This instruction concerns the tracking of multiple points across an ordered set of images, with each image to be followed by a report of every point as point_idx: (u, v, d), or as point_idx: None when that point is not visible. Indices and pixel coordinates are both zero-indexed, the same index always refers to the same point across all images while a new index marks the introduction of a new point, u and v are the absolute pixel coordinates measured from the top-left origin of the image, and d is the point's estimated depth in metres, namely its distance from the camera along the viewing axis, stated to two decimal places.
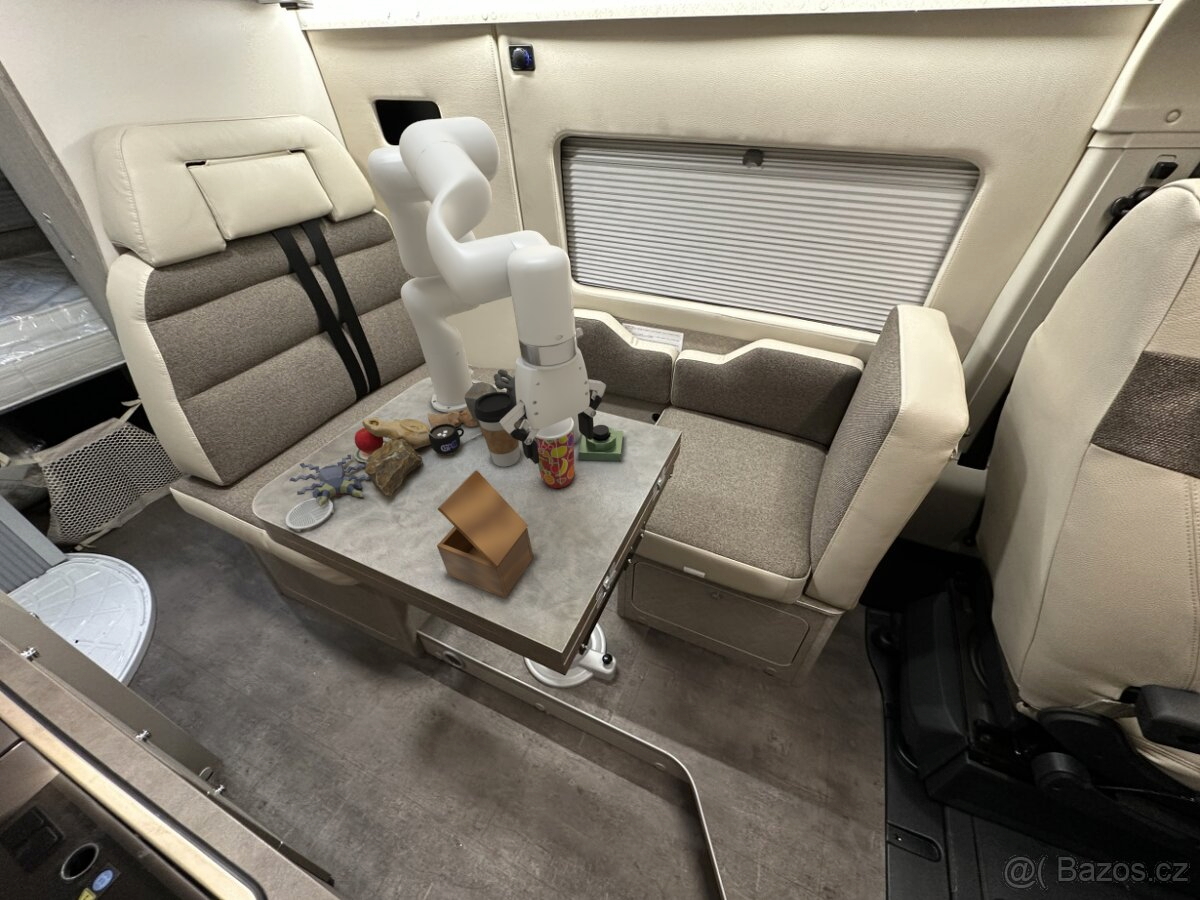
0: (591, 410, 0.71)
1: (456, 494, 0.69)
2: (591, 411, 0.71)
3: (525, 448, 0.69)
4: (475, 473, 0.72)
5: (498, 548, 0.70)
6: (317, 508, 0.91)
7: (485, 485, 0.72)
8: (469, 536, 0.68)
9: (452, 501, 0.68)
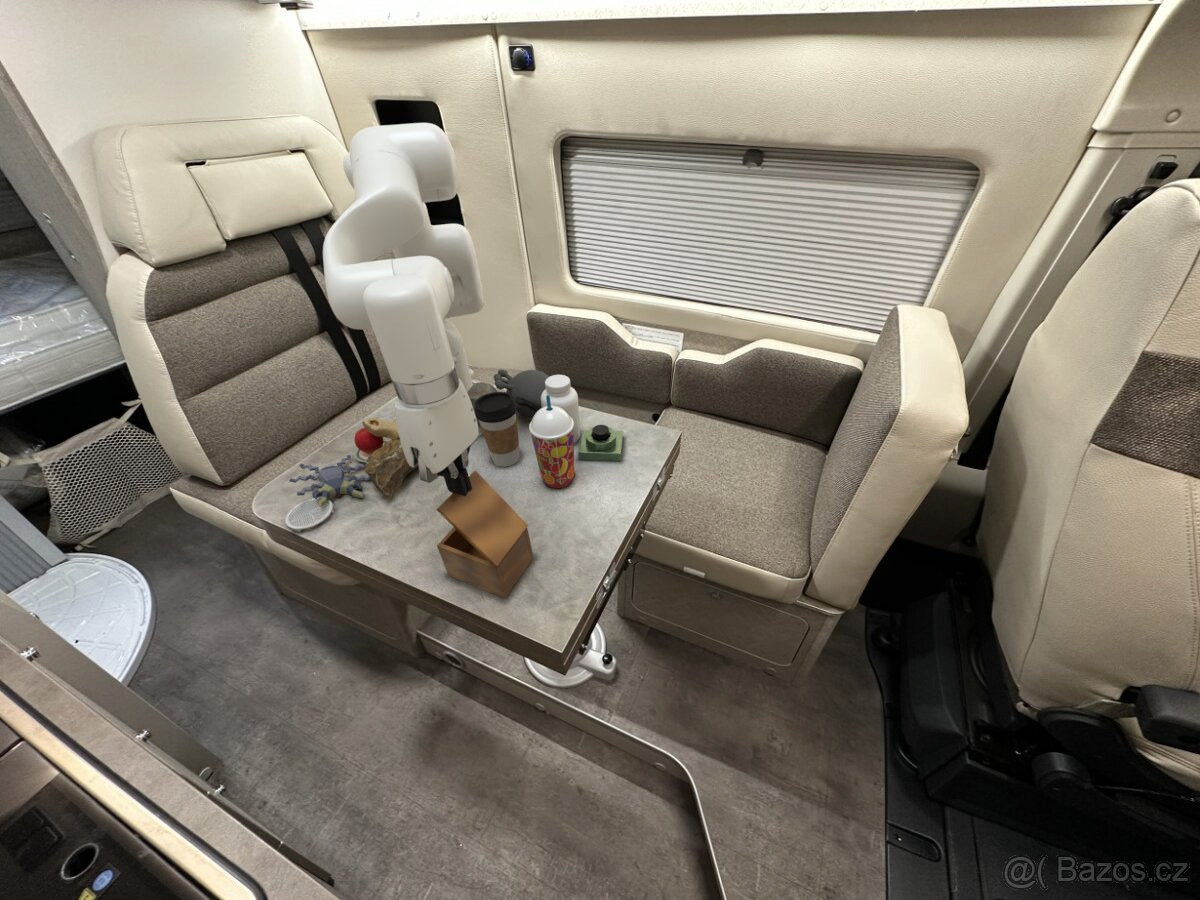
0: (466, 458, 0.67)
1: (455, 495, 0.69)
2: (464, 462, 0.66)
3: (451, 483, 0.66)
4: (474, 474, 0.72)
5: (498, 548, 0.71)
6: (317, 508, 0.91)
7: (484, 485, 0.73)
8: (468, 536, 0.68)
9: (451, 502, 0.68)
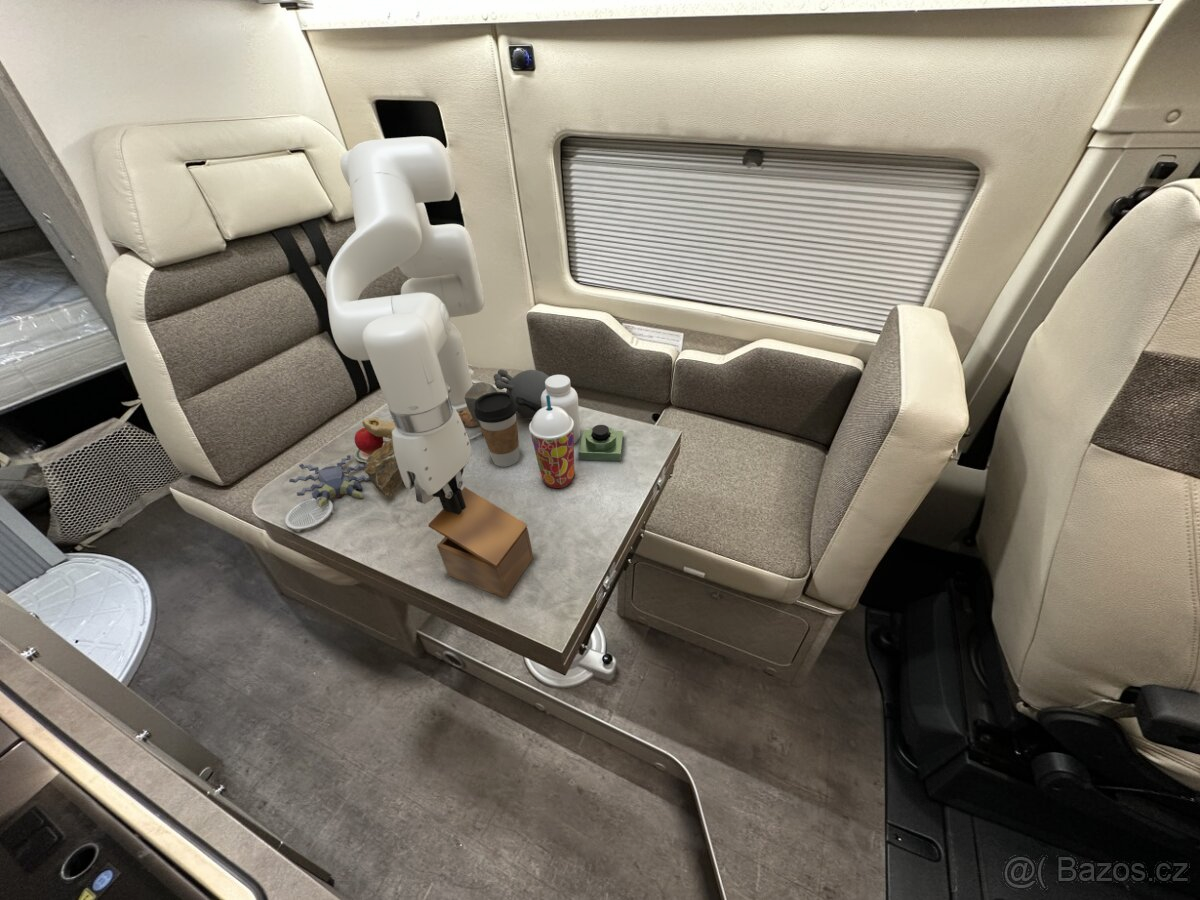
0: (460, 479, 0.70)
1: None
2: (458, 482, 0.70)
3: (446, 503, 0.70)
4: (463, 490, 0.76)
5: (495, 549, 0.71)
6: (317, 508, 0.91)
7: (475, 498, 0.76)
8: (462, 543, 0.70)
9: (441, 516, 0.72)
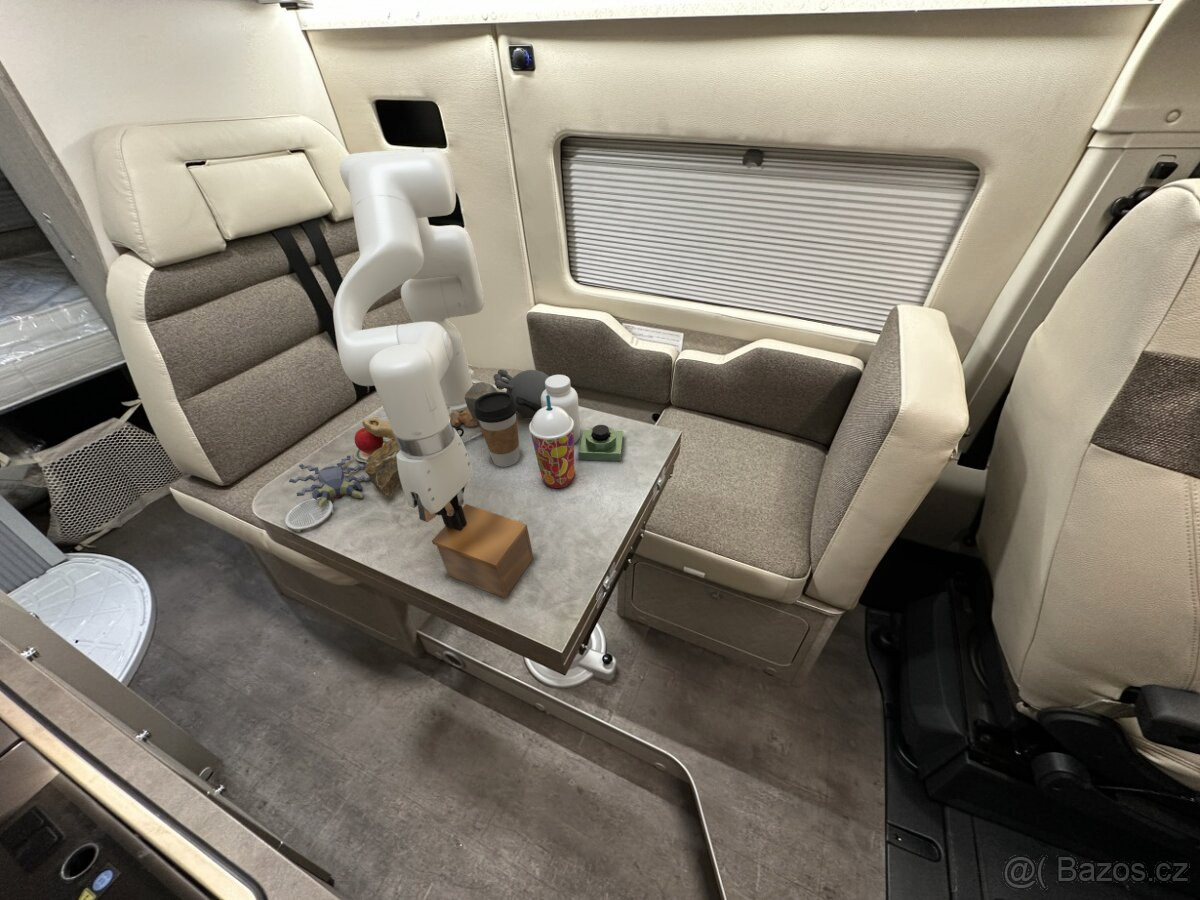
0: (461, 497, 0.73)
1: None
2: (459, 500, 0.73)
3: (447, 520, 0.73)
4: (464, 506, 0.79)
5: (495, 551, 0.71)
6: (317, 508, 0.91)
7: (475, 511, 0.78)
8: (462, 551, 0.72)
9: (443, 532, 0.75)
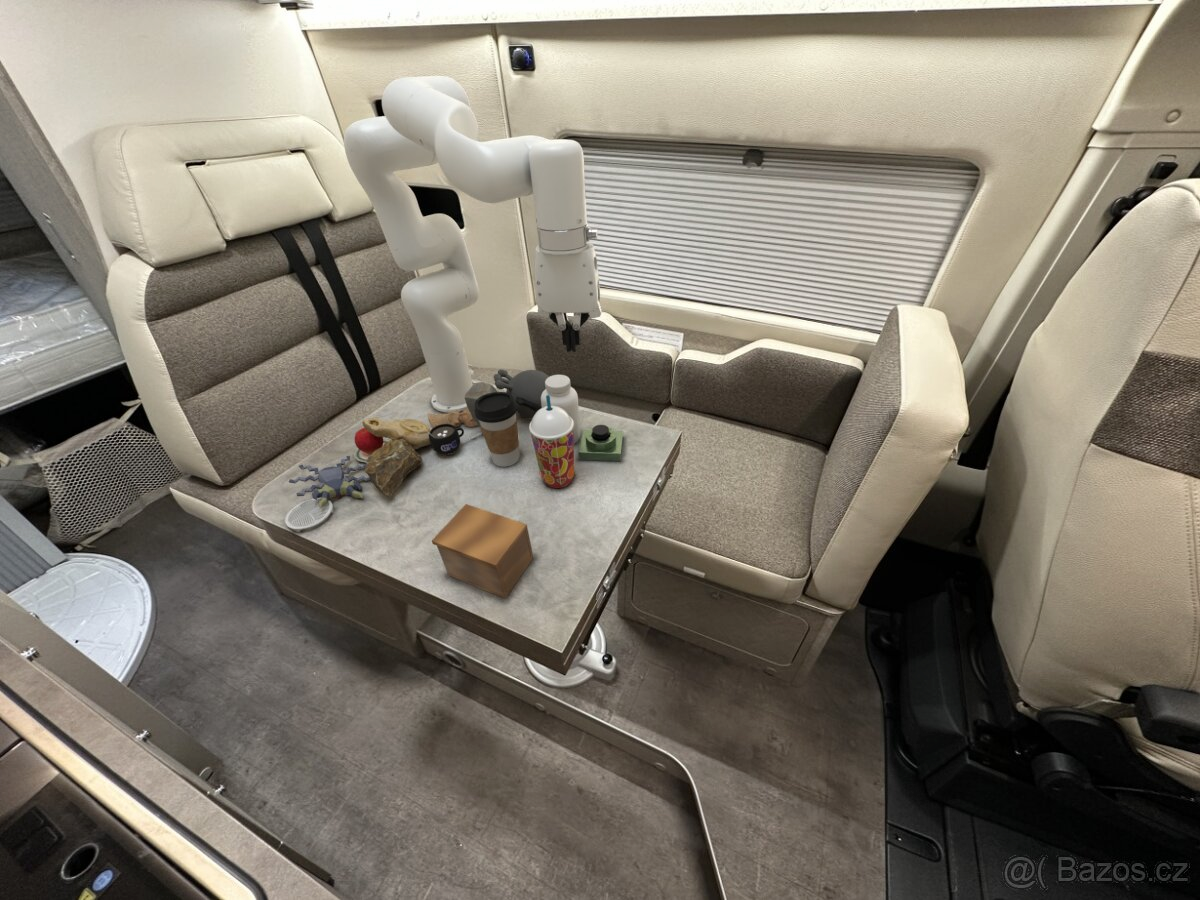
0: (578, 323, 0.78)
1: (447, 526, 0.76)
2: (574, 323, 0.78)
3: None
4: (464, 506, 0.79)
5: (495, 551, 0.71)
6: (317, 508, 0.91)
7: (475, 511, 0.78)
8: (462, 551, 0.72)
9: (443, 532, 0.75)
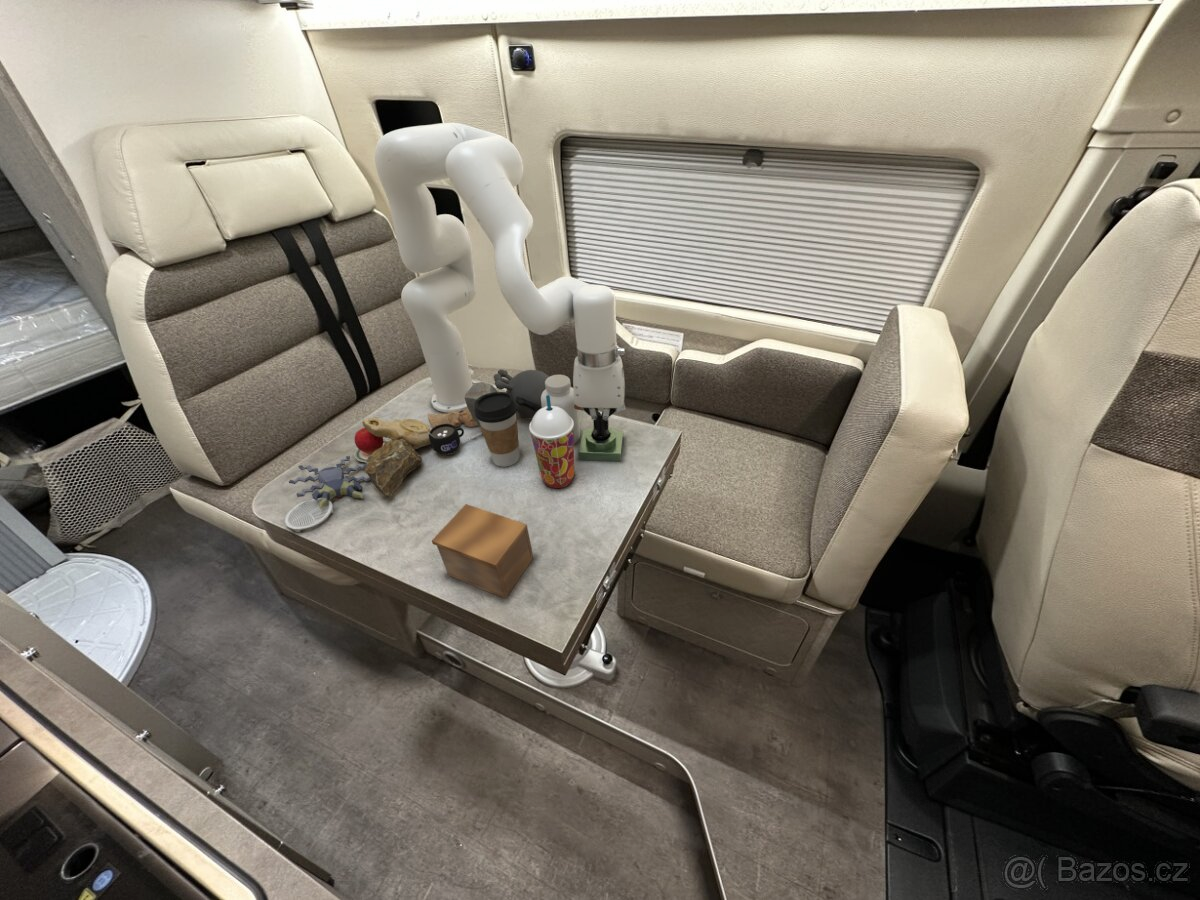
0: (607, 415, 0.96)
1: (447, 526, 0.76)
2: (604, 415, 0.96)
3: None
4: (464, 506, 0.79)
5: (495, 551, 0.71)
6: (316, 508, 0.91)
7: (475, 511, 0.78)
8: (462, 551, 0.72)
9: (443, 532, 0.75)
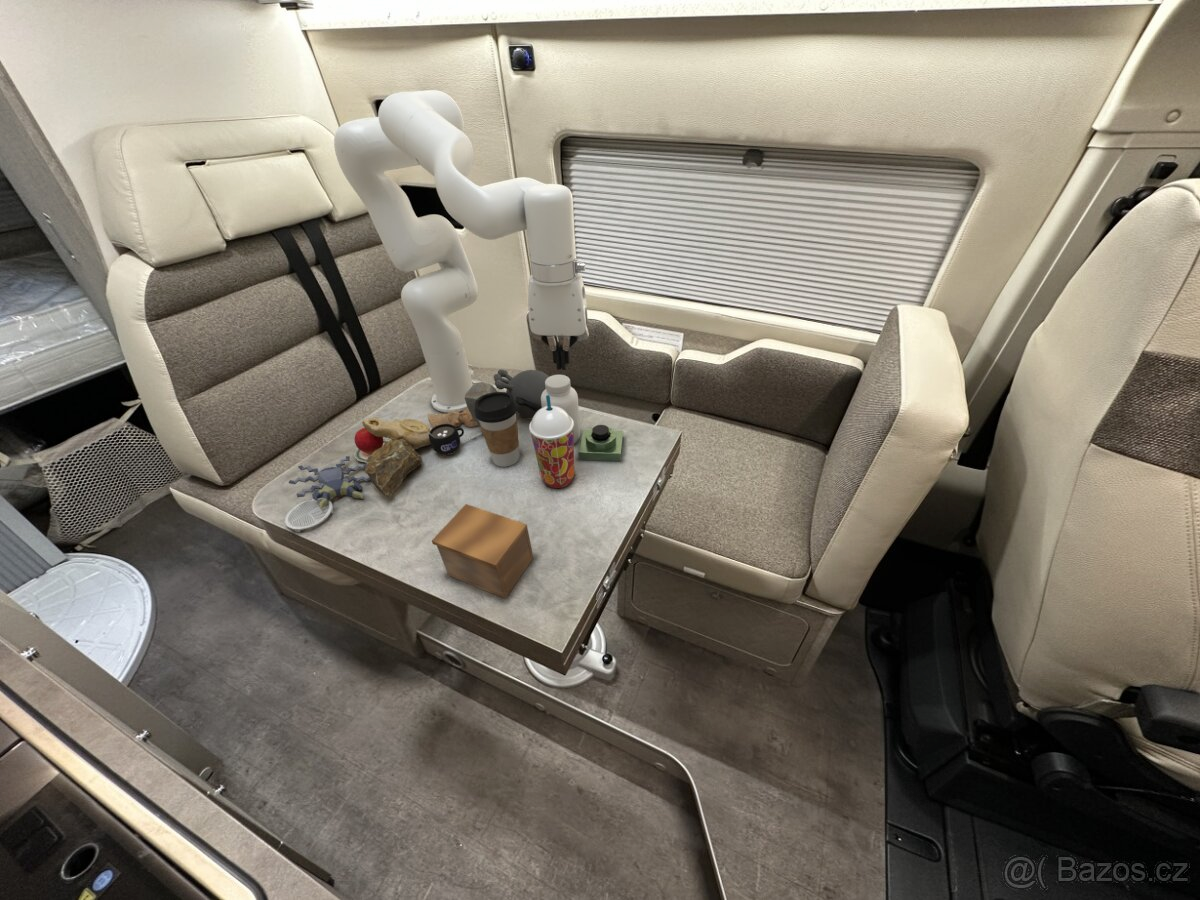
0: (567, 344, 0.86)
1: (447, 526, 0.76)
2: (564, 345, 0.86)
3: (553, 354, 0.88)
4: (464, 506, 0.79)
5: (495, 551, 0.71)
6: (316, 508, 0.91)
7: (475, 511, 0.78)
8: (462, 551, 0.72)
9: (443, 532, 0.75)
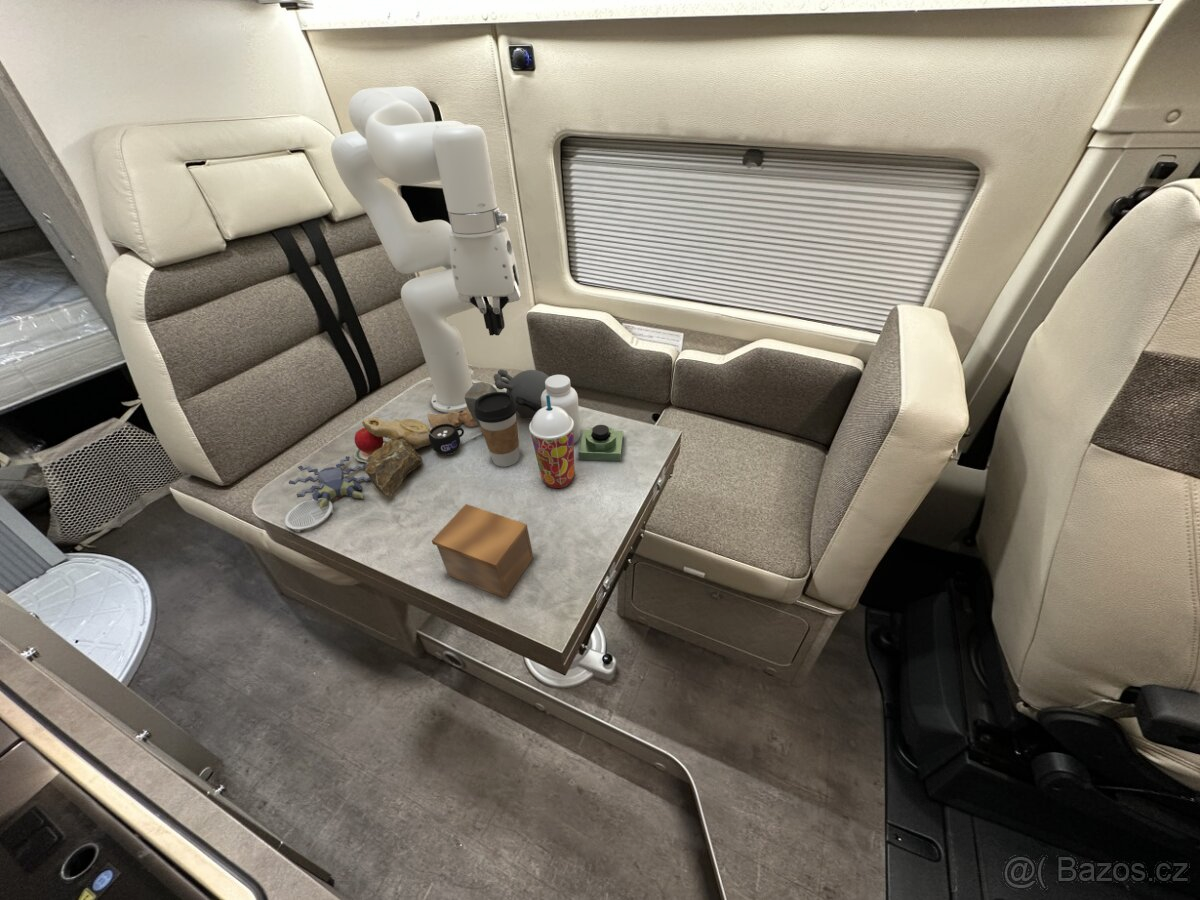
0: (497, 306, 0.80)
1: (447, 526, 0.76)
2: (494, 307, 0.80)
3: None
4: (464, 506, 0.79)
5: (495, 551, 0.71)
6: (316, 508, 0.91)
7: (475, 511, 0.78)
8: (462, 551, 0.72)
9: (443, 532, 0.75)
